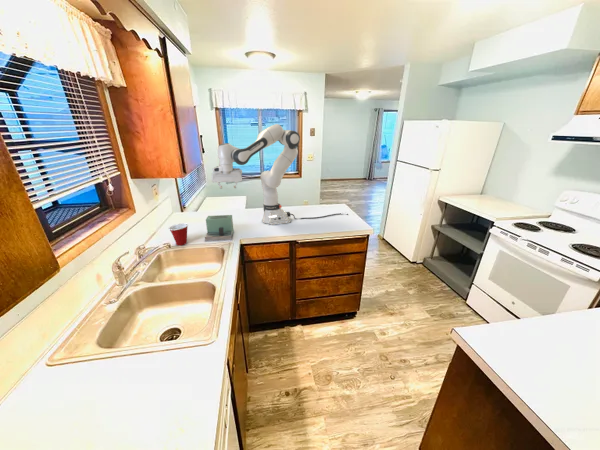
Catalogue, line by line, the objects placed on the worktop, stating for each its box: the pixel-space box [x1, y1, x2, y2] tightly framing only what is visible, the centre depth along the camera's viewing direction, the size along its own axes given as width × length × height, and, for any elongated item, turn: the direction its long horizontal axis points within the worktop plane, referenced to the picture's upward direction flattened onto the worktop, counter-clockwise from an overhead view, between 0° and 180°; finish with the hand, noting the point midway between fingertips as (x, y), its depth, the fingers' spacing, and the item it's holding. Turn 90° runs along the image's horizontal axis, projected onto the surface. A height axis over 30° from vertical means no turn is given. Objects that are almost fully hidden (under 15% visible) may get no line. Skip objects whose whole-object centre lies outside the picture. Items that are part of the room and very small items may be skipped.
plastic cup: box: [168, 223, 189, 247], centre depth 147 cm, size 11×11×12 cm
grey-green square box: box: [204, 214, 234, 242], centre depth 159 cm, size 16×16×12 cm
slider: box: [219, 227, 224, 235], centre depth 156 cm, size 2×3×4 cm
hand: (228, 188), depth 167 cm, fingers open, 8 cm apart
